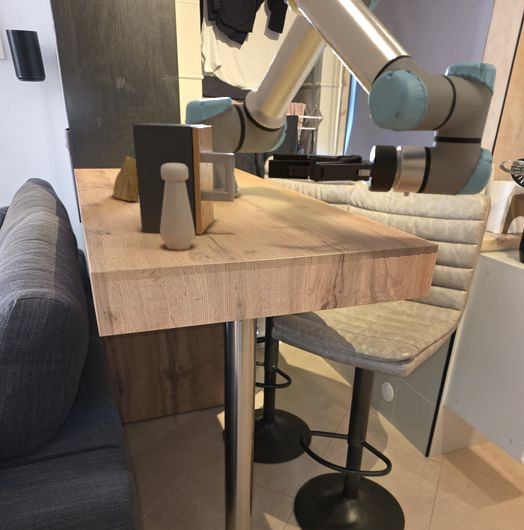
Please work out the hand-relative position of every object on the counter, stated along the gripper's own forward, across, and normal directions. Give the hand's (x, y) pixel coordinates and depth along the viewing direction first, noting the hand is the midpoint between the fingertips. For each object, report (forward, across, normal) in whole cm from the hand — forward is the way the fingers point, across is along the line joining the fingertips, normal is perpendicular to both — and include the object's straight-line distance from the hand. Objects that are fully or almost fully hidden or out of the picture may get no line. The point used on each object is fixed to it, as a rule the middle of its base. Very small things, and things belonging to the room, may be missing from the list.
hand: (270, 164), depth 79 cm
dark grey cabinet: (+18, +5, -12) cm, 23 cm away
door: (+10, +5, -12) cm, 16 cm away
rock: (+38, +31, -12) cm, 51 cm away
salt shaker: (+14, -11, -12) cm, 22 cm away
